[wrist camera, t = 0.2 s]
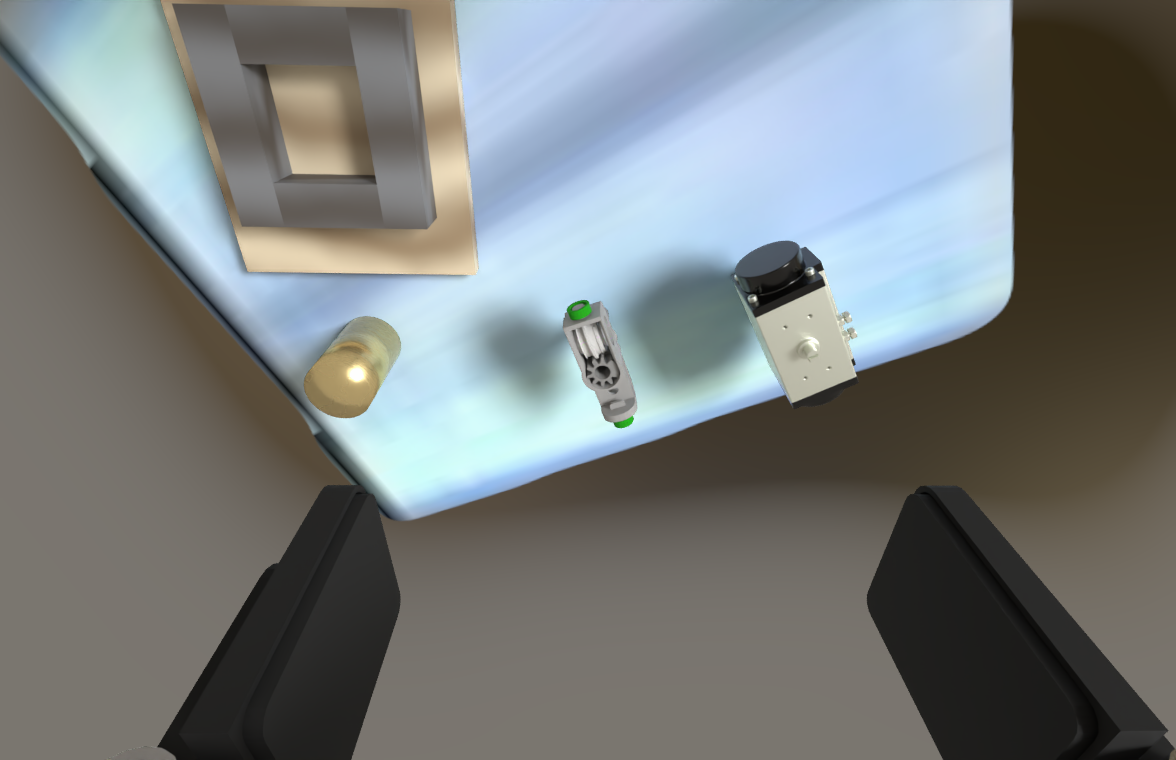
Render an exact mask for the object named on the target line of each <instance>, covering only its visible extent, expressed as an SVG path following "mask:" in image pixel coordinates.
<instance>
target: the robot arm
mask: <svg viewBox="0 0 1176 760" xmlns="http://www.w3.org/2000/svg"><path fill="white" fill-rule="evenodd" d="M867 605H868V609H869V612H870V614H871V617H872V618H873V620H874V623H875V624H876V627H877V628H878V631H879V633H880V634H881V637H882V639H883V640H884V643H885V645H886V647H887V649H888V651H889V653H890V654H891V656H892V659H893V661H894V663H895V664H896V667H897V669H898V670H899V672H900V674H901V676H902V679H903V680H904V682H905V685H906V686H907V688H908V691H909V692H910V695H911V697H912V698H913V700H914V703H915V705H916V706H917V708H918V710H919V713H920V715H921V717H922V718H923V720H924V722H925V724H926V726H927V728H928V730H929V732H930V734H931V736H932V738H933V740H934V742H935V744H936V746H937V748H938V750H939V752H940V754H941V756H942V758H943V760H1176V749H1175V748H1174V747H1173V746H1172V745H1171V744H1170V742H1169V741H1168V740H1167V739H1166V738H1165V737H1164V734H1165V733H1166V732H1167V731H1168V730H1167V729H1166V728H1165V726H1164V725H1163V724H1162V723H1161V722H1160V720H1159V719H1158V718H1157V717H1156V716H1155V714H1154V713H1153V712H1152V711H1151V710H1150V709H1149V707H1148V706H1147V705H1146V704H1145V703H1144V702H1143V700H1142V699H1141V698H1140V697H1139V696H1138V695H1137V693H1136V692H1135V691H1134V690H1133V689H1132V687H1131V686H1130V685H1129V684H1128V683H1127V682H1126V680H1125V679H1124V678H1123V677H1122V676H1121V675H1120V673H1119V672H1118V671H1117V670H1116V669H1115V668H1114V666H1113V665H1112V664H1111V663H1110V661H1109V660H1108V659H1107V658H1106V657H1105V656H1104V654H1103V653H1102V652H1101V651H1100V650H1099V649H1098V647H1097V646H1096V645H1095V644H1094V643H1093V642H1092V640H1091V639H1090V638H1089V637H1088V636H1087V634H1086V633H1085V632H1084V631H1083V630H1082V629H1081V627H1080V626H1079V625H1078V624H1077V623H1076V621H1075V620H1074V619H1073V618H1072V617H1071V616H1070V615H1069V613H1068V612H1067V611H1066V610H1065V608H1064V607H1063V606H1062V605H1061V604H1060V603H1059V601H1058V600H1057V599H1056V598H1055V597H1054V596H1053V594H1052V593H1051V592H1050V591H1049V590H1048V588H1047V587H1046V586H1045V585H1044V584H1043V583H1042V581H1041V580H1040V579H1039V578H1038V577H1037V576H1036V575H1035V573H1034V572H1033V571H1032V570H1031V568H1030V567H1029V566H1028V565H1027V564H1026V563H1025V561H1024V560H1023V559H1022V558H1021V557H1020V555H1019V554H1018V553H1017V552H1016V551H1015V550H1014V548H1013V547H1012V546H1011V545H1010V544H1009V543H1008V541H1007V540H1006V539H1005V538H1004V537H1003V535H1002V534H1001V533H1000V532H999V531H998V530H997V528H996V527H995V526H994V525H993V524H992V522H991V521H990V520H989V519H988V518H987V517H986V516H985V514H984V513H983V512H982V511H981V510H980V508H979V507H978V506H977V505H976V504H975V502H974V501H973V500H972V499H971V498H970V497H969V495H968V494H967V493H966V492H965V491H964V490H963V489H962V488H960V487H958V486H920V487H919V488H918V489H917V490H916V491H915V493H914V494H910V495H909V496H908V497H907V499H906V500H905V503H904V505H903V508H902V510H901V513H900V515H899V518H898V520H897V522H896V525H895V527H894V529H893V532H892V534H891V537H890V539H889V542H888V544H887V547H886V549H885V551H884V554H883V556H882V559H881V561H880V564H879V566H878V568H877V571H876V573H875V576H874V578H873V581H872V583H871V586H870V588H869V591H868V594H867ZM399 609H400V591H399V587H398V583H397V579H396V576H395V572H394V568H393V564H392V560H391V556H390V553H389V549H388V545H387V541H386V537H385V533H384V530H383V526H382V522H381V518H380V514H379V510H378V507H377V503H376V499H375V497H374V495H373V494H366V492H365V490H364V488H363V487H362V486H359V485H328V486H326V487H324V488H323V489H322V491H321V492H320V494H319V495H318V498H317V499H316V501H315V502H314V504H313V506H312V507H311V509H310V511H309V513H308V514H307V516H306V518H305V519H304V521H303V523H302V525H301V526H300V528H299V530H298V531H297V533H296V535H295V537H294V538H293V540H292V542H291V543H290V545H289V547H288V548H287V550H286V552H285V554H284V555H283V557H282V559H281V560H280V562H279V563H276V564H273V565H271V566H270V567H269V568H267V569H266V570H265V572H264V573H263V574H262V576H261V577H260V578H259V580H258V582H257V583H256V585H255V587H254V588H253V590H252V592H251V593H250V595H249V597H248V598H247V600H246V601H245V603H244V605H243V606H242V608H241V610H240V612H239V613H238V615H237V617H236V618H235V620H234V621H233V623H232V625H231V626H230V628H229V630H228V631H227V633H226V634H225V636H224V638H223V639H222V641H221V643H220V644H219V646H218V648H217V650H216V651H215V653H214V654H213V656H212V658H211V659H210V661H209V663H208V664H207V666H206V667H205V669H204V671H203V673H202V674H201V676H200V677H199V679H198V681H197V682H196V684H195V686H194V687H193V689H192V691H191V692H190V694H189V696H188V697H187V699H186V700H185V702H184V704H183V706H182V707H181V709H180V710H179V712H178V714H177V715H176V717H175V719H174V720H173V722H172V724H171V725H170V727H169V729H168V730H167V732H166V734H165V735H164V737H163V738H162V740H161V742H160V743H159V745H158V747H147V746H144V747H140V748H135V749H131V750H126V751H124V752H121V753H119V754H117V755H115V756H113V757H111V758H108V759H106V760H351V758H352V755H353V752H354V749H355V746H356V743H357V740H358V737H359V734H360V731H361V728H362V725H363V721H364V718H365V715H366V712H367V709H368V706H369V703H370V700H371V697H372V693H373V690H374V687H375V684H376V681H377V678H378V675H379V672H380V669H381V666H382V663H383V660H384V657H385V654H386V650H387V648H388V645H389V641H390V638H391V635H392V632H393V629H394V626H395V623H396V620H397V617H398V613H399Z"/></svg>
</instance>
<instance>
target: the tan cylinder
mask: <svg viewBox="0 0 1176 760" xmlns="http://www.w3.org/2000/svg"><path fill="white" fill-rule="evenodd" d="M400 351H401V342H400V338H399V336H398V334H397V332H396V331H395V330H394V329H393V328H392V327H391V326H390V325H389V324H388V323H386V322H385V321H383V320H381V319H378V318H375V317H368V316H364V317H358V318H356V319H353V320H352V321H350V322H349V323H348V324H347V326H346V327H345V328H344V329H343V330H342V332H341V333H340V334H339V335H338V336H337V338H336V339H335V340H334V341H333V343H332V344H331V345H330V346H329V347H328V349H327V350H326V351H325V352H324V353H323V355H322V356H321V357H320V358H319V360H318V361H317V362H316V363H315V364H314V366H313V367H312V368H311V369H310V370H309V372H308V373H307V375H306V377H305V380H304V389H305V393H306V395H307V397H308V399H309V400H310V401H311V403H312V404H313V405H314V406H315V407H316V408H318V409H319V410H321V411H322V412H324V413H326V414H328V415H331V416H334V417H338V418H352V417H356V416H359V415H361V414H362V413H364V412H365V411H366V410H367V409H368V407H369V406H370V404H371V402H372V401H373V399H374V397H375V395H376V394H377V392H378V390H379V389H380V387H381V385H382V383H383V382H384V380H385V378H386V377H387V375H388V373H389V371H390V370H391V368H392V366H393V364H394V363H395V361H396V359H397V358H398V356H399V354H400Z"/></svg>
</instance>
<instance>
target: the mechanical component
mask: <svg viewBox="0 0 1176 760" xmlns="http://www.w3.org/2000/svg"><path fill="white" fill-rule="evenodd" d="M563 330H564V332H565V335H566V337H567V339H568V342H569V344H570V346H571V349H572V351H573V353H574V356H575V358H576V360H577V363H578V365H579V367H580V370H581V372H582V380H583V382H584V383H585V385H586V386H587V387H588V388H590V389H591V390H593V391H595V393H596V396H597V398H598V400H599V403H600V405H601V411H602V414H603V416H604V418H605V420H606V421H608V422H613V423H614V425H615V427H617V428H625V427H627V426H629V425H630V424H632V422H633V420H634V418H633V415H634V414H635V412H636V411H637V402H636V395H635V391H634V387H633V384H632V381H631V378H630V375H629V372H628V370H627V367H626V364H625V362H624V359H623V356H622V354H621V348H620V346H619V344H618V343H617V335H616V333H615V331H614V330H613V329H612V327H611V324H610V321H609V314H608V310H607V309H606V308H605V307H604V306H603V304H602V302H601V301H599V302H596V303H593V304H590V305H589V302H588V301H587V300H581V301H577V302H575V303H573V304H571V305H570V306H569V307H568V308H567V312H566V313H565V318H564V321H563Z"/></svg>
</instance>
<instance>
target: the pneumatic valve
mask: <svg viewBox="0 0 1176 760" xmlns="http://www.w3.org/2000/svg"><path fill="white" fill-rule="evenodd" d="M731 278H732V280H733V283H734V285H735V287H736V289H737V292H738V294H739V296H740V299H741V301H742V303H743V306H744V308H745V310H746V313H747V315H748V317H749V320H750V322H751V324H752V326H753V329H754V331H755V333H756V336H757V338H758V340H759V343H760V345H761V347H762V350H763V352H764V354H765V356H766V359H767V361H768V363H769V366H770V368H771V369H772V371H773V373H774V375H775V377H776V378H777V380H778V382H779V384H780V385H781V387H782V389H783V391H784V393H785V394H786V396H787V398H788V400H789V401H790V403H791V405H792V407H793V408H794V409H796V408H799V407H801V406H804V407H813V406H819V405H823V404H826V403H828V402H830V401H832V400H834V399H835V398H837V397H838V396H839V395H840V394H841V393H842V392H843V390H844V389H845V388H847V387H850V386H852V385H855V384H857V383H858V379H857V376H856V373H855V370H854V367H853V366H854V365H856V364H855V361H854V358H853V355H852V352H851V349H850V346H849V343H848V341H849V340H850V337H851V339H854V338H856V337H857V334H856V331H855V330H854V328H853V327H850V328H848V329H847V331H848V332H847V331H846V330H844V328H843V325H844V324H845V322H846V323H849V322H851V321H852V318H851V316H850V314H849V312H848V311H845V312H843V313H842V316H841V315H840V314H839V313H838V310H837V307H836V304H835V302H834V299H833V296H832V293H831V290H830V287H829V284H828V281H827V278H826V275H825V272H824V269H823V266H822V263H821V261H820V260H819V259H818V258H817V257H816V256H815V255H814V254H813V253H811V252H810V251H809V250H808V249H807V248H806V247H804V248H801V249H800V247H799V245H798V244H797V243H795V242H793V241H778V242H774V243H770V244H767V245H764V246H762V247H760V248H757V249H756V250H754V251H752V252H750V253H749V254H747V255H746V256H745V257H743V258H742V259H741V260H740V261H739V263H738V264H737V266H736V268H735V274H733V275H731ZM844 321H845V322H844Z"/></svg>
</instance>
